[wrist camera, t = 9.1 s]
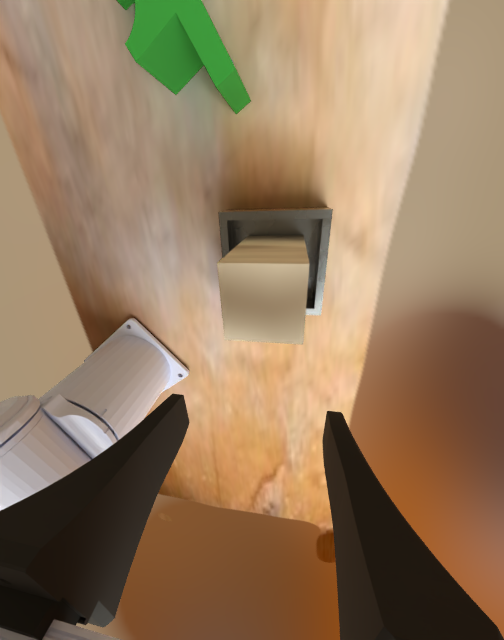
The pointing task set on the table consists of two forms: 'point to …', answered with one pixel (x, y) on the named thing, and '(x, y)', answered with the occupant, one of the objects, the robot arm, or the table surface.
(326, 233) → the dark gray open tray
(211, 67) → the pipe clamp
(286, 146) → the table surface
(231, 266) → the rail post
